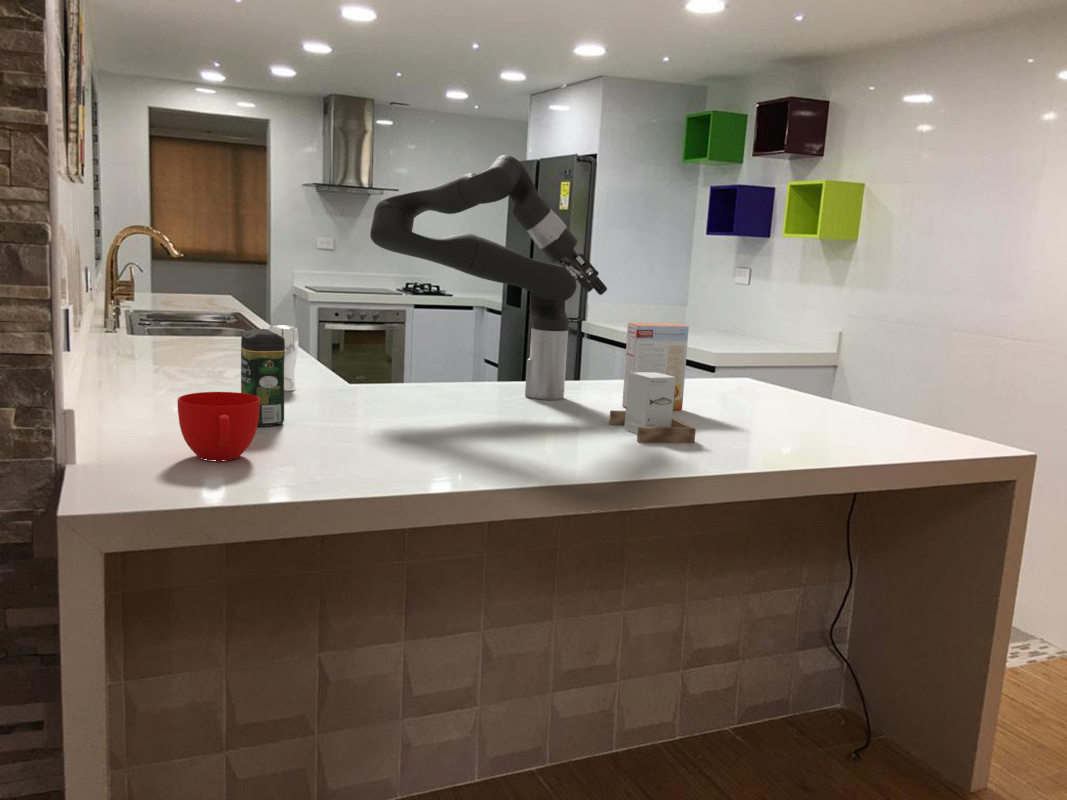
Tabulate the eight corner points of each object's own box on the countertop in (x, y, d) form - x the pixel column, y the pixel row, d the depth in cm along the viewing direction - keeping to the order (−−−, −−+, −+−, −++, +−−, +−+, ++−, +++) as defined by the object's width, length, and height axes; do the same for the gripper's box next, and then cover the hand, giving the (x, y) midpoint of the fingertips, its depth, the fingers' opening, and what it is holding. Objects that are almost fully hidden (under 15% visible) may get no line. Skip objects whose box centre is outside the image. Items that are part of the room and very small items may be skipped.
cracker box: (671, 406, 230) (678, 323, 226) (682, 411, 224) (690, 326, 220) (620, 406, 225) (627, 321, 221) (630, 411, 219) (637, 324, 216)
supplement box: (643, 437, 191) (648, 377, 189) (623, 429, 197) (627, 371, 195) (671, 435, 195) (677, 376, 192) (650, 427, 201) (655, 371, 199)
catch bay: (639, 442, 185) (640, 428, 185) (609, 423, 202) (610, 410, 202) (694, 442, 188) (695, 428, 188) (660, 424, 205) (661, 411, 205)
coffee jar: (236, 418, 184) (237, 326, 181) (276, 416, 188) (277, 326, 185) (246, 428, 176) (247, 332, 172) (288, 426, 179) (289, 332, 176)
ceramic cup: (181, 474, 141) (180, 411, 140) (175, 449, 157) (175, 392, 155) (267, 471, 147) (268, 410, 145) (254, 446, 162) (254, 391, 160)
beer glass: (293, 392, 216) (294, 329, 213) (263, 390, 216) (264, 327, 213) (300, 387, 222) (301, 326, 220) (272, 386, 222) (273, 324, 220)
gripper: (531, 246, 206) (576, 299, 211) (548, 248, 192) (595, 305, 197) (555, 224, 206) (599, 277, 211) (573, 224, 193) (620, 281, 198)
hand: (597, 290), depth 204 cm, fingers open, 8 cm apart
